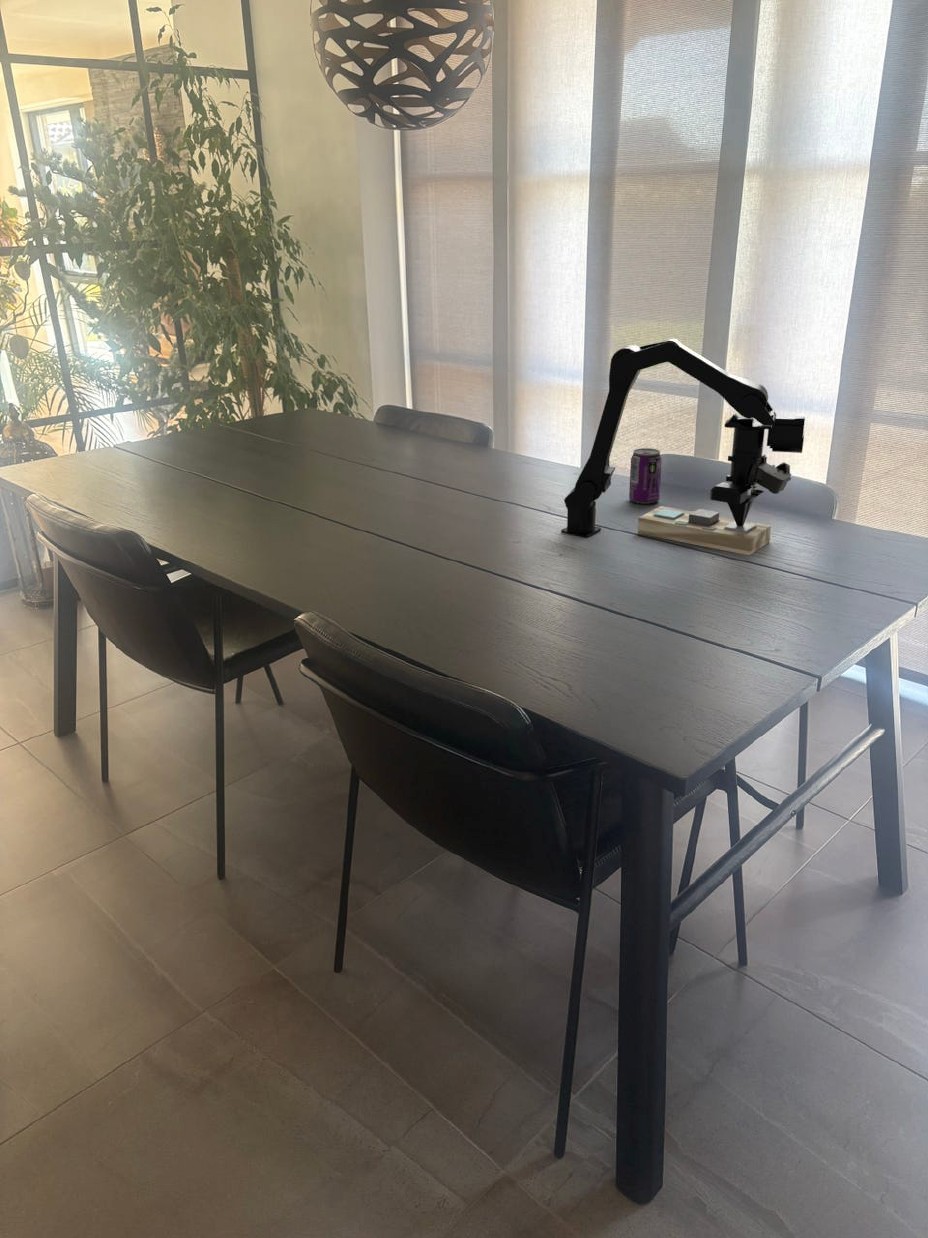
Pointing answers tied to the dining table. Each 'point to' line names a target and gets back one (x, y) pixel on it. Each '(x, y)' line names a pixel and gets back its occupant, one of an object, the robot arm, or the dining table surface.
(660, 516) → the key teal
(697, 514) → the gray square block
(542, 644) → the dining table surface
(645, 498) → the beverage can
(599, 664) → the dining table surface
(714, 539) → the wooden key base
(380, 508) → the dining table surface
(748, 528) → the key grey
